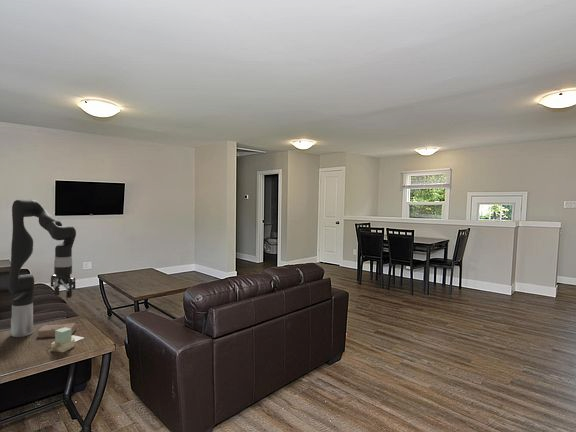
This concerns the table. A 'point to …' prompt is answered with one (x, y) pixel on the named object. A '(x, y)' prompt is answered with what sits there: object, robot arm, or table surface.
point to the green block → (63, 335)
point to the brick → (50, 329)
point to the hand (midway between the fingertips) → (62, 296)
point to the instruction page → (76, 338)
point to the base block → (62, 346)
